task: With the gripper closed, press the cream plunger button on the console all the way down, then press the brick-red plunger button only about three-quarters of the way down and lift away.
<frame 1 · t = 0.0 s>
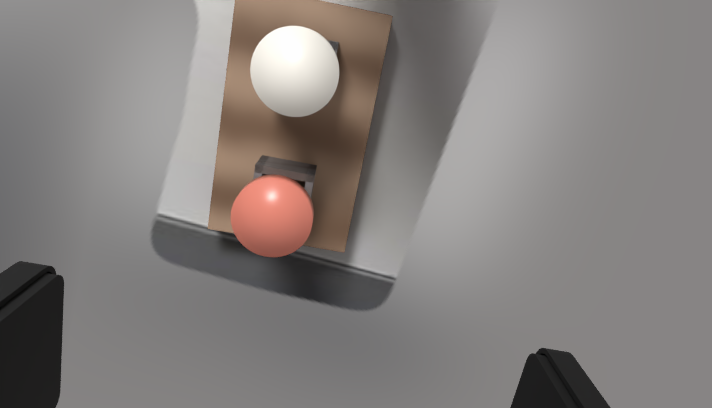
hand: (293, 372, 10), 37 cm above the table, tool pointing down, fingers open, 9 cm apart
red button: (276, 208, 38), point 9 cm above the table, slide at 0.0 cm
console: (298, 122, 46), on the table
cream button: (298, 70, 36), point 9 cm above the table, slide at 0.0 cm
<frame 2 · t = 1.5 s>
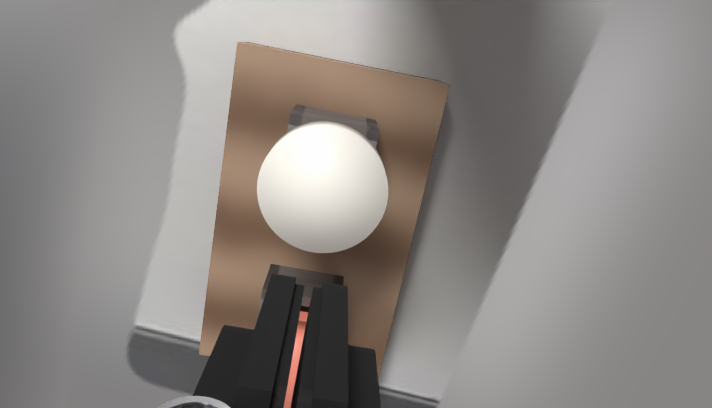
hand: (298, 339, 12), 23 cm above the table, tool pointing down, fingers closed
red button: (292, 356, 28), point 9 cm above the table, slide at 0.0 cm
console: (317, 214, 35), on the table
cream button: (325, 177, 25), point 9 cm above the table, slide at 0.0 cm
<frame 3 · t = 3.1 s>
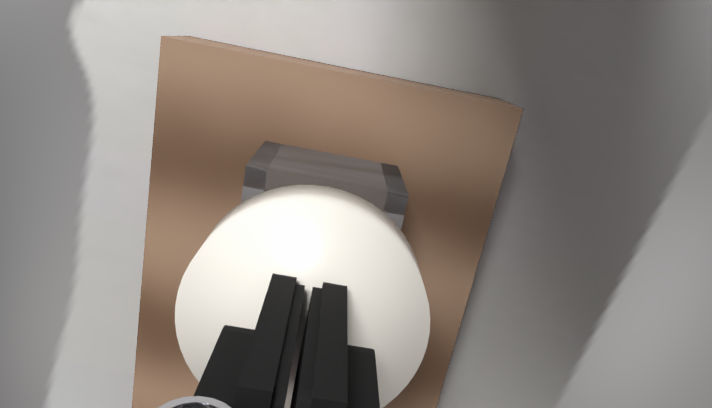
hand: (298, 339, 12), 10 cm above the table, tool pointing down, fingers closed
console: (304, 299, 23), on the table
cream button: (311, 275, 14), point 8 cm above the table, slide at 1.2 cm, touching gripper
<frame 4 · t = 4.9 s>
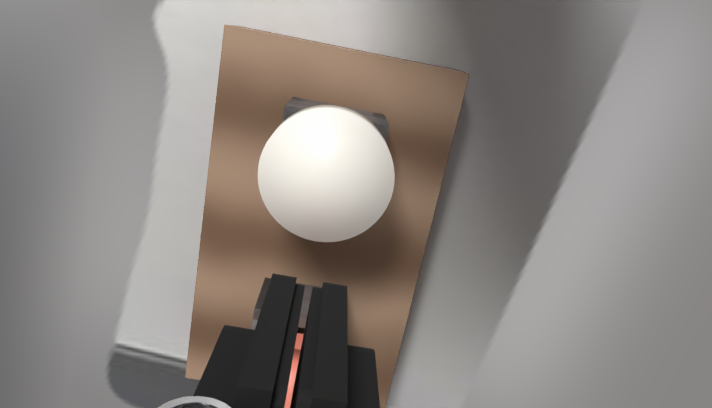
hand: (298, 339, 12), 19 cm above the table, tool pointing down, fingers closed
red button: (288, 388, 24), point 9 cm above the table, slide at 0.0 cm
console: (317, 220, 31), on the table
cream button: (328, 163, 24), point 6 cm above the table, slide at 3.0 cm
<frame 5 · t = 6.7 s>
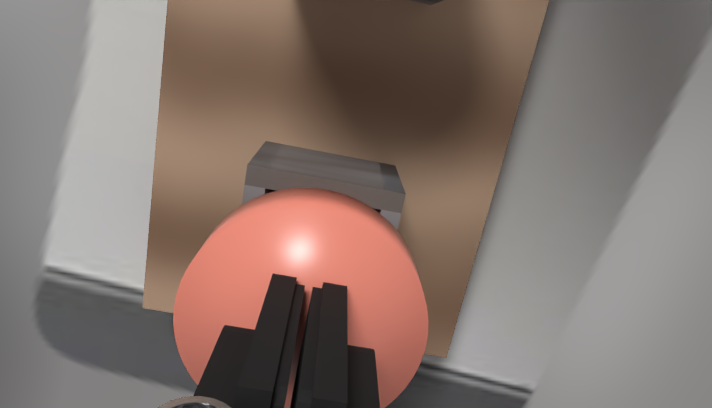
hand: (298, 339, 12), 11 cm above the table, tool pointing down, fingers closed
red button: (309, 277, 14), point 8 cm above the table, slide at 0.8 cm, touching gripper
console: (345, 69, 20), on the table
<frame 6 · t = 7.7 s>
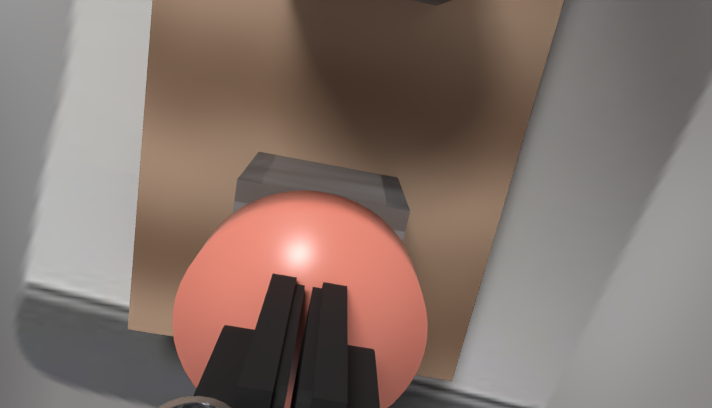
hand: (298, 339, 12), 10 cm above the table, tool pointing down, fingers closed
red button: (309, 280, 14), point 7 cm above the table, slide at 2.1 cm, touching gripper
console: (344, 74, 19), on the table
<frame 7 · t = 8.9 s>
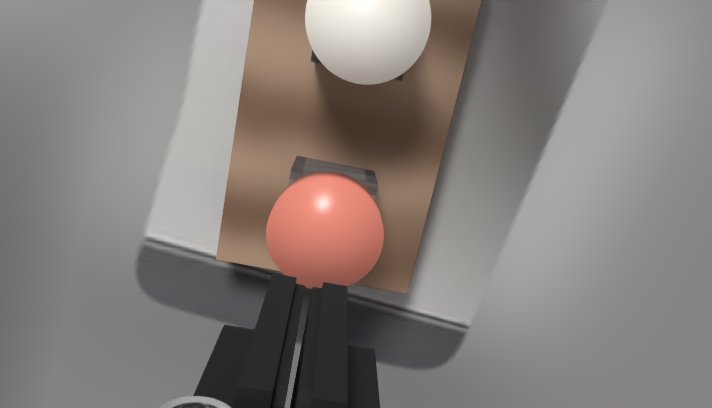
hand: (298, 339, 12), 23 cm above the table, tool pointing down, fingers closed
red button: (326, 220, 27), point 7 cm above the table, slide at 2.1 cm
console: (344, 112, 33), on the table
cream button: (365, 23, 26), point 6 cm above the table, slide at 3.0 cm
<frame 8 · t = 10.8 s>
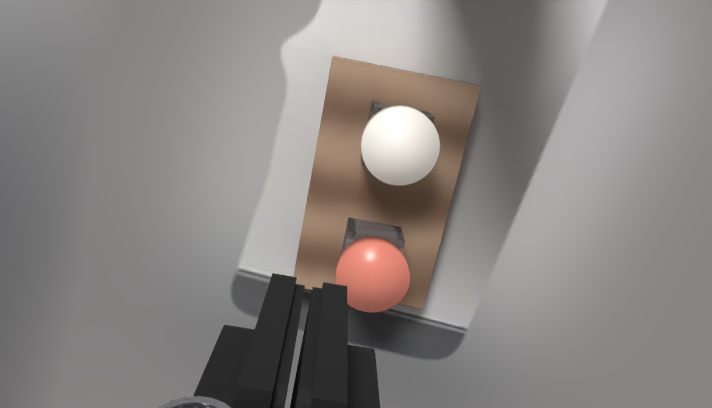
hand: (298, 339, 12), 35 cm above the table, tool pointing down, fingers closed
red button: (371, 265, 42), point 7 cm above the table, slide at 2.1 cm
console: (379, 183, 47), on the table
cream button: (397, 140, 40), point 6 cm above the table, slide at 3.0 cm
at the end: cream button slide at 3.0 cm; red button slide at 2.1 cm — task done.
